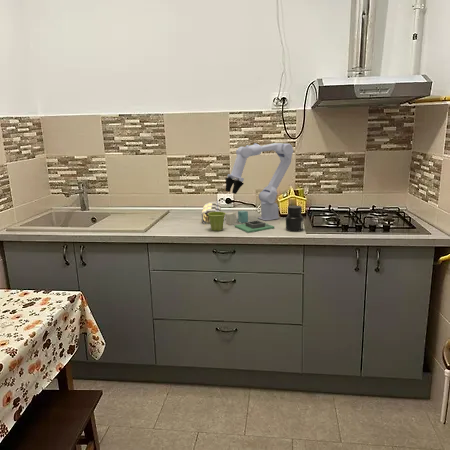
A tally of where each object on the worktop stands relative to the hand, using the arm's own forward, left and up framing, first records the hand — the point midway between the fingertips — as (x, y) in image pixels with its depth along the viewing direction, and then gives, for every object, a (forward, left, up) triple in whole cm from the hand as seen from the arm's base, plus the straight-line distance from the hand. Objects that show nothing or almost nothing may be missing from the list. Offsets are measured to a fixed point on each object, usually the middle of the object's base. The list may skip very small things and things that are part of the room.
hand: (230, 192), depth 232 cm
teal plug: (-8, 0, -18) cm, 19 cm away
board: (-6, +15, -18) cm, 24 cm away
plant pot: (+12, +7, -18) cm, 23 cm away
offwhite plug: (0, 0, -18) cm, 18 cm away
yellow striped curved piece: (+3, -17, -18) cm, 25 cm away
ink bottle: (-21, +30, -18) cm, 40 cm away
